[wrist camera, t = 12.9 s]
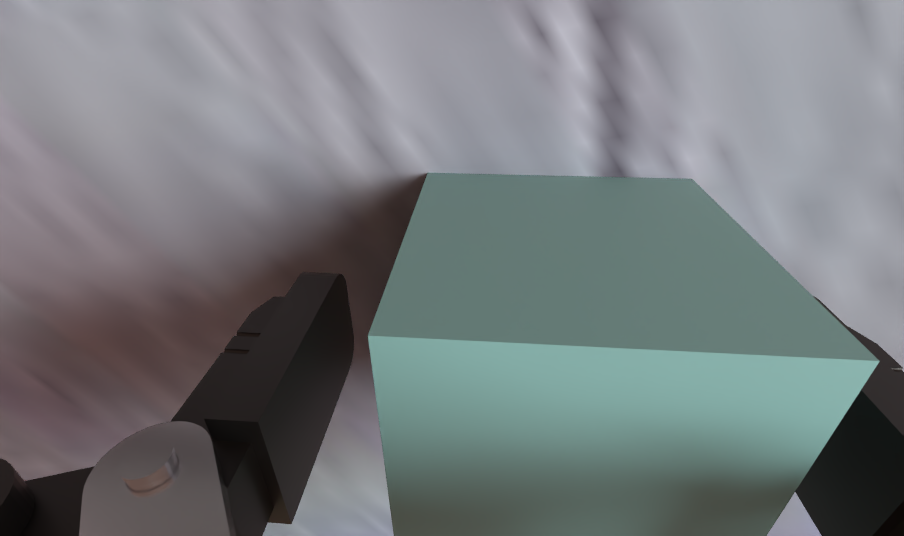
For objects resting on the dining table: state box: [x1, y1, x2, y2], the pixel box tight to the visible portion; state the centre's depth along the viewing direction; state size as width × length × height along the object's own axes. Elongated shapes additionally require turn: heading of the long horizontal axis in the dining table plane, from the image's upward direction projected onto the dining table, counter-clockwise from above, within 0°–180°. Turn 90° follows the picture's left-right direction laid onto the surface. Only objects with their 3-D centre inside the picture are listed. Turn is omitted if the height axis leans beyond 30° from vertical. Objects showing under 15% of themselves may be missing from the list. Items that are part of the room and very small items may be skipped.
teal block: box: [368, 173, 879, 536], centre depth 8 cm, size 5×5×5 cm
